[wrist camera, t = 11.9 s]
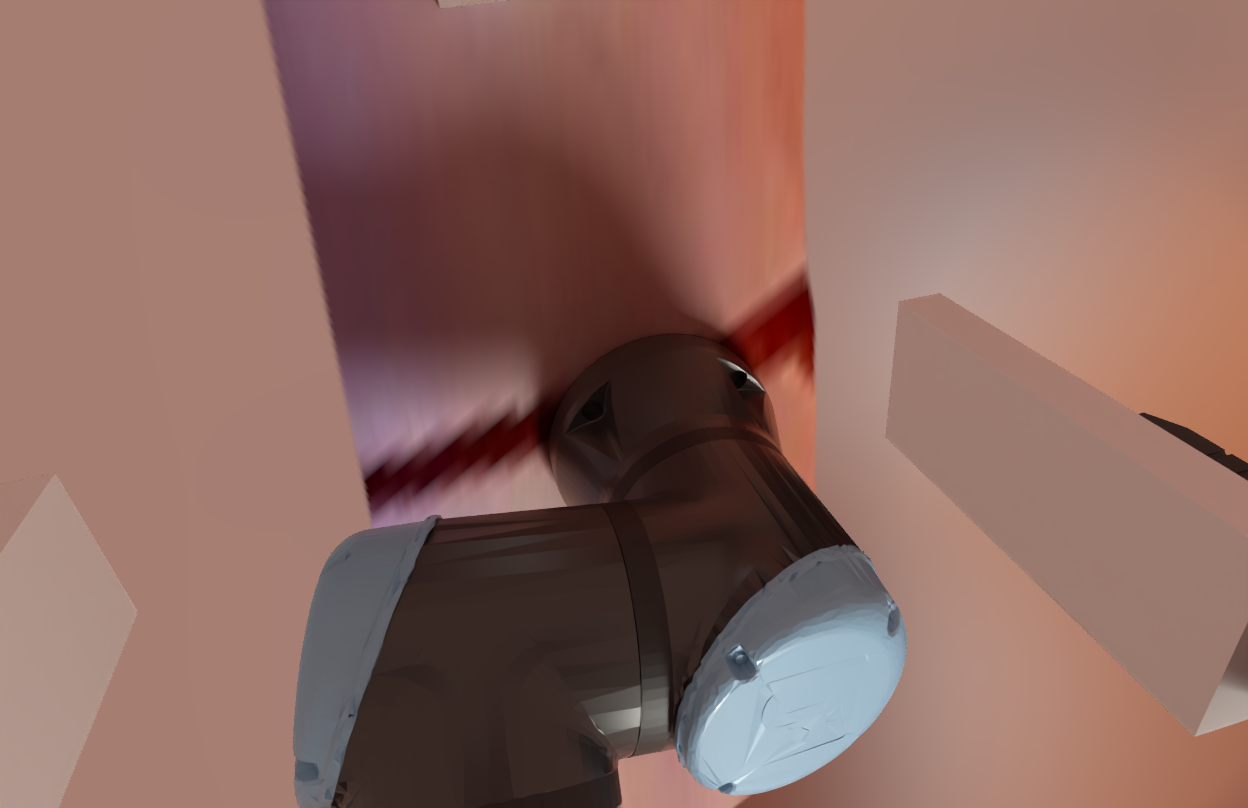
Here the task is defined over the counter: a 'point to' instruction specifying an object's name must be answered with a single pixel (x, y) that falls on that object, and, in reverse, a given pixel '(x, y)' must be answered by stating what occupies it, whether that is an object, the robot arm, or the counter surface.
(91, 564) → the robot arm
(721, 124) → the counter surface
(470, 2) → the holder
